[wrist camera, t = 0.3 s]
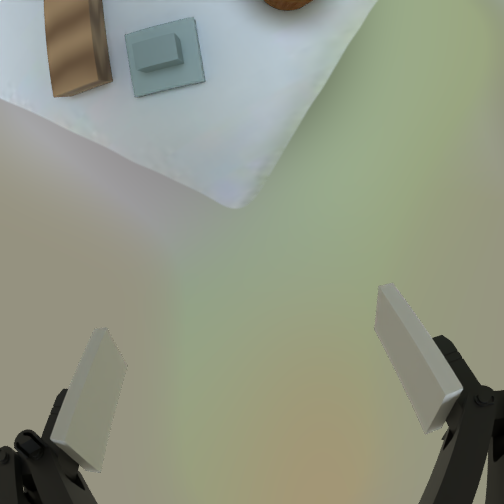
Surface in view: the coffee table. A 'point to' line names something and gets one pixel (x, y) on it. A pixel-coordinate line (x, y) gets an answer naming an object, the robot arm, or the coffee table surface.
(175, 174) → the coffee table surface
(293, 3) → the disposable coffee cup
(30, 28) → the coffee table surface
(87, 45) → the batten
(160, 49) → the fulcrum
